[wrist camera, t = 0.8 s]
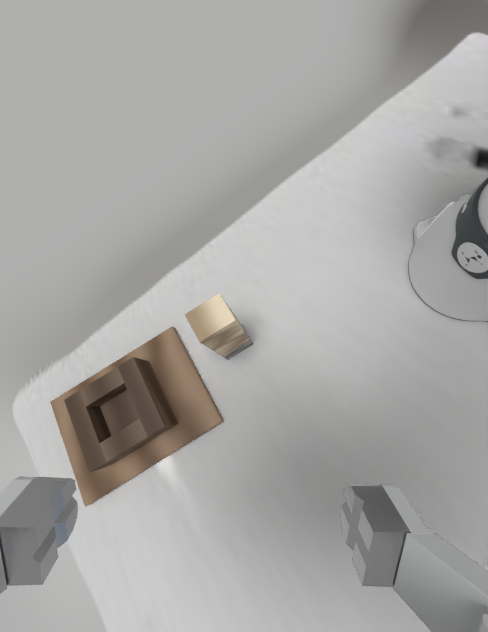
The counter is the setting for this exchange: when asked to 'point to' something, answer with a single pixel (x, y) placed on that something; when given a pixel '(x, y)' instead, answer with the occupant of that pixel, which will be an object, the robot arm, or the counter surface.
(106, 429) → the square hole base plate
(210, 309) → the upright wooden square peg
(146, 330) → the counter surface
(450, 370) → the counter surface
